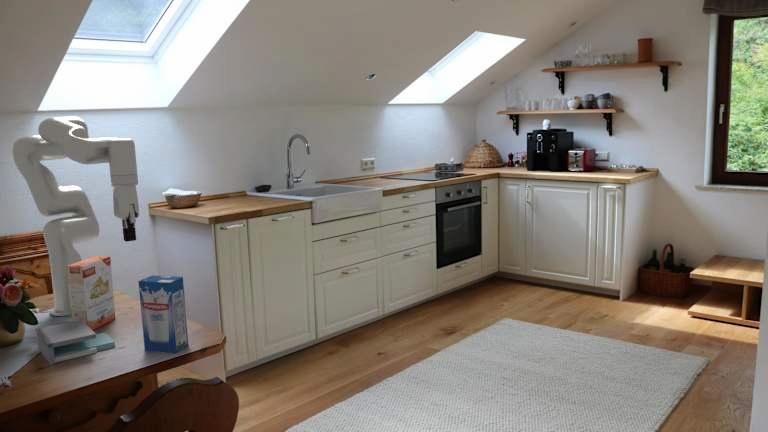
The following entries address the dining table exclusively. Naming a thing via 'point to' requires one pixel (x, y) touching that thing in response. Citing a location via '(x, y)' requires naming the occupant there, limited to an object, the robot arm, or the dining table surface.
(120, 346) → the dining table surface
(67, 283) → the robot arm
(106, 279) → the cracker box
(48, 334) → the grey slotted box
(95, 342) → the tile
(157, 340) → the milk carton
